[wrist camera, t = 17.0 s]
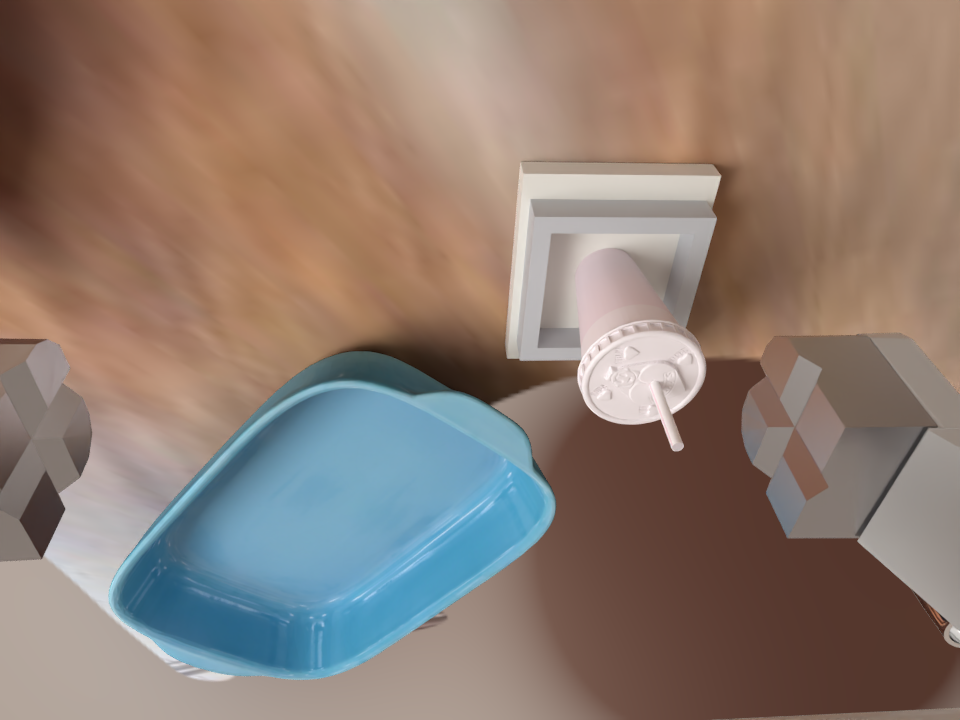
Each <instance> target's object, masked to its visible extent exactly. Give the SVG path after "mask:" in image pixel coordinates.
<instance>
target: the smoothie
mask: <svg viewBox="0 0 960 720" xmlns="http://www.w3.org/2000/svg"><path fill="white" fill-rule="evenodd" d="M575 286H576V297H577V309H578V321H579V332H580V344H581V358H582V359H581V362H580V365H579V367H578V385H579V388H580V390H581V393H582V395H583V398H584V401H585V403H586V404H587V406H588V407H589V408H590V410H591V411H592V412H594V413H595V414H596V415H598V416H599V417H601V418H603V419H605V420H607V421H611V422H614V423H619V424H628V425H629V424H644V423H649V422H653V421H657V420H660V419H661V421H662V424H663V426H664V429H665V432H666V434H667V437H668V440H669V443H670V445H671V448H672V450H673V451H679V450H681V449H682V448H683V447H684V445H683V442H682V440H681V437H680V435H679V432H678V429H677V427H676V425H675V422H674V419H673V416H672V414H673V413H675V412H677V411H678V410H680V409H681V408H683V407H684V406H685V405H686V404H688V403H689V402H690V401H691V400H692V399H693V397H694V396H695V395H696V394H697V393H698V391H699V390H700V388H701V386H702V384H703V381H704V379H705V375H706V362H705V358H704V355H703V353H702V351H701V346H700V344H699V343H698V341H697V339H696V338H695V336H694V335H693V334H692V333H691V332H690V331H688V330H687V329H686V328H684V327H683V326H681V325H679V324H678V322H677V321H676V319H675V318H674V317H673V315H672V314H671V313H670V311H669V310H668V308H667V307H666V305H665V304H664V303H663V301H662V300H661V298H660V297H659V296H658V294H657V293H656V291H655V290H654V289H653V287H652V286H651V284H650V283H649V281H648V280H647V279H646V277H645V276H644V274H643V273H642V272H641V270H640V269H639V267H638V266H637V264H636V263H635V262H634V260H633V259H632V257H631V256H630V255H629V254H627V253H626V252H624V251H622V250H619V249H615V248H605V249H600V250H597V251H595V252H593V253H591V254H589V255H588V256H586V257H585V258H584V259H583V260H582V261H581V263H580V264H579V266H578V267H577V270H576V273H575Z"/></svg>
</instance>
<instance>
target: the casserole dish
mask: <svg viewBox="0 0 960 720" xmlns="http://www.w3.org/2000/svg"><path fill="white" fill-rule="evenodd" d="M555 511H556V499H555V496H554V493H553V491H552V488H551V486H550V485H549V483H548V481H547V480H546V478H545V477H544V475H543V473H542V472H541V470H540V468H539V467H538V465H537V463H536V462H535V460H534V459H533V457H532V449H531V444H530V441H529V438H528V436H527V434H526V433H525V432H524V430H523V429H522V428H521V427H520V426H519V425H518V424H517V423H515V422H514V421H513V420H511V419H510V418H508V417H507V416H505V415H504V414H502V413H501V412H499V411H498V410H496V409H495V408H493V407H492V406H490V405H488V404H487V403H485V402H483V401H481V400H479V399H478V398H476V397H473V396H471V395H469V394H466V393H464V392H460V391H454V390H451V389H450V388H448V387H446V386H445V385H443V384H441V383H440V382H438V381H436V380H435V379H433V378H431V377H430V376H428V375H426V374H425V373H423V372H421V371H419V370H418V369H416V368H414V367H412V366H410V365H408V364H406V363H405V362H403V361H400V360H398V359H396V358H393V357H391V356H388V355H384V354H380V353H375V352H369V351H353V352H345V353H340V354H337V355H334V356H331V357H328V358H325V359H323V360H321V361H319V362H317V363H315V364H313V365H311V366H309V367H308V368H306V369H305V370H303V371H301V372H300V373H298V374H297V375H296V376H294V377H293V378H292V379H291V380H289V381H288V382H287V383H286V384H285V385H283V386H282V387H281V388H280V389H279V390H277V391H276V392H275V393H274V394H273V395H272V396H271V397H270V398H269V399H268V400H267V401H266V402H265V403H264V404H263V405H262V406H261V407H260V408H259V409H258V410H257V411H256V412H255V413H254V414H253V415H252V416H251V417H250V418H249V419H248V420H247V421H246V422H245V423H244V424H243V425H242V426H241V427H240V428H239V429H238V430H237V432H236V433H235V434H234V435H233V436H232V437H231V438H230V439H229V440H228V441H227V442H226V443H225V444H224V445H223V446H222V447H221V449H220V450H219V451H218V452H217V453H216V454H215V455H214V456H213V457H212V458H211V459H210V460H209V462H208V463H207V464H206V465H205V466H204V467H203V468H202V469H201V470H200V471H199V472H198V473H197V475H196V476H195V477H194V478H193V479H192V480H191V481H190V482H189V483H188V484H187V485H186V486H185V488H184V489H183V490H182V491H181V492H180V493H179V494H178V495H177V496H176V497H175V498H174V499H173V501H172V502H171V503H170V504H169V505H168V506H167V508H166V509H165V510H164V511H163V512H162V513H161V515H160V516H159V517H158V518H157V519H156V520H155V522H154V523H153V524H152V525H151V527H150V528H149V529H148V530H147V532H146V533H145V534H144V536H143V537H142V538H141V540H140V541H139V543H138V544H137V545H136V547H135V548H134V549H133V551H132V552H131V553H130V554H129V555H128V557H127V558H126V559H125V561H124V562H123V564H122V565H121V566H120V568H119V569H118V571H117V573H116V575H115V577H114V578H113V581H112V583H111V586H110V589H109V604H110V606H111V609H112V610H113V612H114V613H115V615H116V616H117V617H118V618H119V619H120V620H121V621H122V622H124V623H125V624H126V625H128V626H129V627H131V628H133V629H135V630H136V631H138V632H140V633H141V634H143V635H145V636H147V637H149V638H150V639H152V640H153V641H154V642H155V643H156V644H157V645H158V646H159V647H160V648H161V649H162V650H163V651H164V652H166V653H167V654H168V655H170V656H171V657H173V658H175V659H177V660H179V661H181V662H184V663H186V664H189V665H192V666H194V667H197V668H201V669H204V670H208V671H212V672H216V673H221V674H227V675H234V676H270V677H276V678H283V679H293V680H308V679H320V678H325V677H329V676H333V675H336V674H339V673H342V672H345V671H347V670H350V669H352V668H354V667H356V666H358V665H360V664H362V663H364V662H366V661H368V660H369V659H371V658H373V657H374V656H376V655H377V654H379V653H380V652H382V651H384V650H385V649H387V648H388V647H390V646H391V645H393V644H394V643H396V642H397V641H399V640H400V639H402V638H403V637H405V636H406V635H408V634H409V633H411V632H412V631H413V630H415V629H416V628H418V627H419V626H421V625H422V624H424V623H425V622H426V621H428V620H429V619H431V618H432V617H434V616H435V615H437V614H438V613H440V612H441V611H443V610H444V609H446V608H447V607H449V606H450V605H452V604H453V603H454V602H456V601H457V600H459V599H460V598H462V597H463V596H465V595H466V594H468V593H469V592H470V591H472V590H473V589H475V588H476V587H478V586H479V585H481V584H482V583H484V582H485V581H487V580H488V579H490V578H491V577H492V576H494V575H495V574H497V573H498V572H500V571H501V570H502V569H504V568H505V567H506V566H508V565H509V564H511V563H512V562H513V561H514V560H516V559H517V558H518V557H520V556H521V555H522V554H523V553H525V552H526V551H527V550H528V549H529V548H530V547H532V546H533V545H534V544H535V543H536V542H537V541H538V540H539V539H540V538H541V537H542V536H543V534H544V533H545V532H546V531H547V530H548V528H549V527H550V525H551V523H552V521H553V519H554V515H555Z"/></svg>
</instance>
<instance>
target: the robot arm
mask: <svg viewBox="0 0 960 720" xmlns="http://www.w3.org/2000/svg"><path fill="white" fill-rule="evenodd" d="M760 364H761V366H762V368H763V370H764V372H765V374H766V377H765V378H764V379H762V380H761V381H760V382H759V383H757V384H756V385H755V386H754V387H752V388H751V389H750V390H749V392H748V395H747V398H746V401H745V404H744V407H743V410H742V436H743V440H744V444H745V449H746V451H747V453H748V455H749V458H750V460H751V462H752V464H753V465H754V466H756V467H757V468H759V469H760V470H761V471H763V472H764V473H765V474H767V475H768V476H769V477H771V478H772V479H771V481H770V484H769V486H768V489H767V492H766V494H767V496H768V498H769V500H770V502H771V504H772V506H773V508H774V511H775V512H776V515H777V517H778V519H779V521H780V523H781V525H782V527H783V529H784V531H785V533H786V536H787V538H859V540H858V542H859V543H860V544H861V545H862V546H863V547H864V548H866V549H867V550H868V551H869V552H870V553H871V554H872V555H873V556H875V557H876V558H877V559H878V560H879V561H880V562H881V563H883V564H884V565H885V566H886V567H887V568H888V569H889V570H890V571H892V572H893V573H894V574H895V575H896V576H897V577H898V578H900V579H901V580H902V581H903V582H904V583H905V584H907V585H908V586H909V587H910V588H911V589H912V590H913V591H914V592H915V593H917V594H918V595H919V596H920V597H921V598H922V599H923V600H925V601H926V602H927V603H928V604H929V605H930V606H931V607H933V608H934V609H935V610H936V611H937V612H938V613H939V614H940V615H942V616H943V617H944V618H945V619H946V620H947V621H948V622H950V623H951V624H952V625H953V626H954V627H955V628H956V629H958V630H959V631H960V395H959V393H958V392H957V391H956V390H955V389H954V388H953V386H952V385H951V384H950V383H949V382H948V380H947V379H946V378H945V377H944V376H943V375H942V373H941V372H940V371H939V370H938V369H937V368H936V366H935V365H934V364H933V363H932V362H931V361H930V359H929V358H928V357H927V356H926V355H925V354H924V352H923V351H922V350H921V349H920V348H919V346H918V345H917V344H916V343H915V342H914V341H913V339H911V338H909V337H907V336H905V335H903V334H901V333H872V334H857V335H828V336H775V337H774V338H773V339H772V340H771V341H770V342H769V343H768V345H767V346H766V348H765V350H764V353H763V355H762V358H761V360H760ZM69 370H70V366H69V364H68V362H67V360H66V358H65V356H64V354H63V351H62V349H61V347H60V345H58V344H56V343H54V342H52V341H50V340H48V339H0V561H17V560H36V559H42V558H43V556H44V553H45V551H46V549H47V547H48V545H49V543H50V541H51V539H52V537H53V534H54V532H55V530H56V528H57V526H58V524H59V522H60V520H61V517H62V515H63V513H64V511H65V507H64V505H63V503H62V501H61V498H60V496H59V494H58V493H60V492H61V491H63V490H64V489H65V488H67V487H68V486H69V485H71V484H72V483H73V482H75V481H76V480H77V479H79V478H80V477H81V474H82V472H83V470H84V467H85V465H86V463H87V461H88V458H89V453H90V445H91V437H92V429H91V422H90V416H89V412H88V410H87V407H86V405H85V402H84V400H83V398H82V397H81V396H80V395H78V394H77V393H76V392H74V391H73V390H71V389H70V388H69V387H67V386H66V385H64V384H63V381H64V379H65V377H66V375H67V373H68V371H69ZM720 720H960V708H947V709H930V710H929V709H927V710H907V711H886V712H868V713H867V712H866V713H845V714H826V715H804V716H783V717H763V718H741V719H720Z"/></svg>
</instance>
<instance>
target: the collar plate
mask: <svg viewBox="0 0 960 720" xmlns="http://www.w3.org/2000/svg"><path fill="white" fill-rule="evenodd" d="M720 179H721V175H720V173H719V172H718V171H717V169H716V168H715V166H714V165H713V164H666V163H584V162H520V173H519V185H518V196H517V208H516V220H515V232H514V244H513V256H512V267H511V279H510V291H509V303H508V315H507V327H506V338H505V348H506V354H507V359H520V361H545V360H581V359H582V358H581V344H580V332H579V321H578V309H577V297H576V286H575V273H576V270H577V267H578V266H579V264H580V263H581V261H582V260H583V259H584V258H585V257H586V256H588V255H589V254H591V253H593V252H595V251H597V250H600V249H605V248H615V249H619V250H622V251H624V252H626V253H627V254H629V255H630V256H631V257H632V259H633V260H634V262H635V263H636V264H637V266H638V267H639V269H640V270H641V272H642V273H643V274H644V276H645V277H646V279H647V280H648V281H649V283H650V284H651V286H652V287H653V289H654V290H655V291H656V293H657V294H658V296H659V297H660V298H661V300H662V301H663V303H664V304H665V305H666V307H667V308H668V310H669V311H670V313H671V314H672V315H673V317H674V318H675V319H676V321H677V322H678V324H679V325H681V326H683V327H684V328H686V326H687V322H688V319H689V315H690V312H691V308H692V305H693V301H694V298H695V294H696V290H697V287H698V283H699V280H700V276H701V273H702V269H703V266H704V262H705V259H706V255H707V252H708V248H709V245H710V241H711V238H712V234H713V231H714V227H715V224H716V220H717V217H716V215H715V214H714V212H713V211H712V208H713V204H714V201H715V197H716V193H717V190H718V186H719V183H720Z"/></svg>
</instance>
